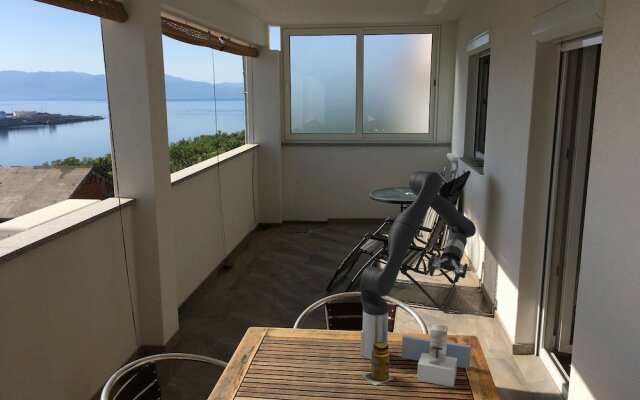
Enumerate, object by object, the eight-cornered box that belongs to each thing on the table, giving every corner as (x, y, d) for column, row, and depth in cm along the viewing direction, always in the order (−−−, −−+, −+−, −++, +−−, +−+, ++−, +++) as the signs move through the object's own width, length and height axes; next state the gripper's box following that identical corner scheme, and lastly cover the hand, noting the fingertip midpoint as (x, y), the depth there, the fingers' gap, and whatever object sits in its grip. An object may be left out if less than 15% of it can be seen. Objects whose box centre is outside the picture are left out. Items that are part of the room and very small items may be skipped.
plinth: (417, 380, 182) (417, 364, 181) (421, 368, 191) (422, 352, 190) (453, 387, 178) (454, 370, 177) (456, 374, 187) (457, 358, 186)
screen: (401, 357, 198) (402, 337, 197) (402, 355, 200) (403, 335, 199) (469, 368, 191) (470, 347, 189) (469, 366, 192) (471, 345, 191)
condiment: (394, 378, 183) (395, 345, 181) (374, 385, 179) (375, 352, 177) (380, 370, 189) (381, 337, 187) (361, 376, 185) (361, 343, 183)
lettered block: (428, 363, 182) (430, 329, 179) (431, 356, 187) (432, 323, 184) (444, 365, 180) (445, 332, 178) (445, 358, 185) (447, 325, 183)
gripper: (436, 240, 211) (425, 264, 199) (473, 250, 206) (464, 275, 194) (434, 255, 215) (422, 280, 203) (470, 265, 210) (460, 291, 198)
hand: (443, 278), depth 198 cm, fingers open, 8 cm apart
